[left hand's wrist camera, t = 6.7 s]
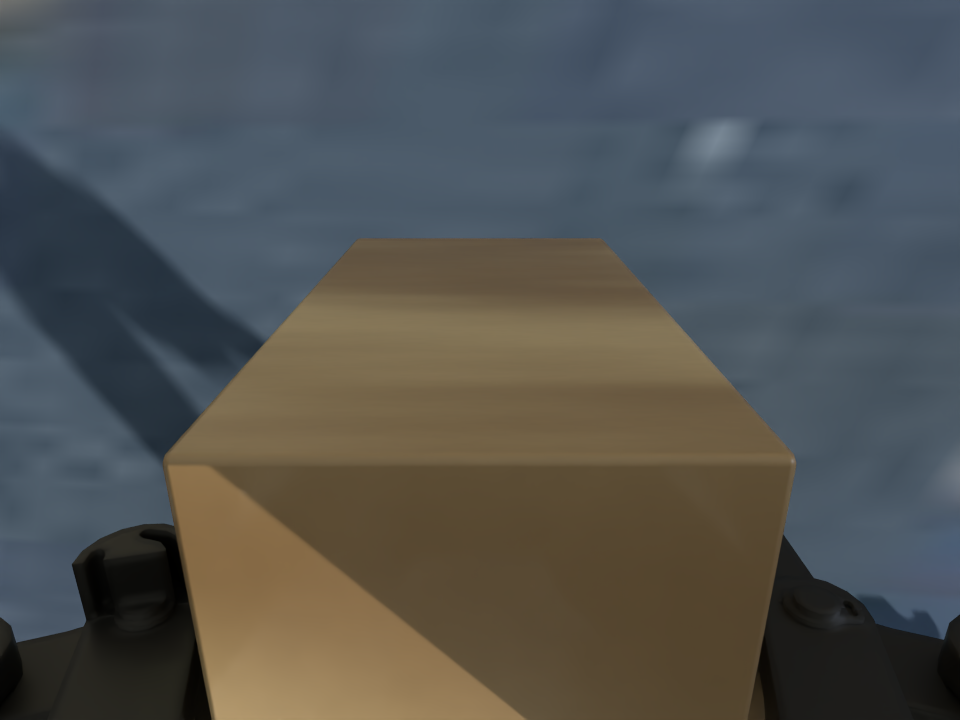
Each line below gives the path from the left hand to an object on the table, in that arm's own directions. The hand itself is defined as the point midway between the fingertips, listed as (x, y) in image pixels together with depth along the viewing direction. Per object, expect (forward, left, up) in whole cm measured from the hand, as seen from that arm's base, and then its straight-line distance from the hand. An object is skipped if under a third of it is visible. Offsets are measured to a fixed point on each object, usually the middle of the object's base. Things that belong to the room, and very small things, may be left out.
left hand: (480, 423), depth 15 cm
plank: (0, +10, 0) cm, 10 cm away
